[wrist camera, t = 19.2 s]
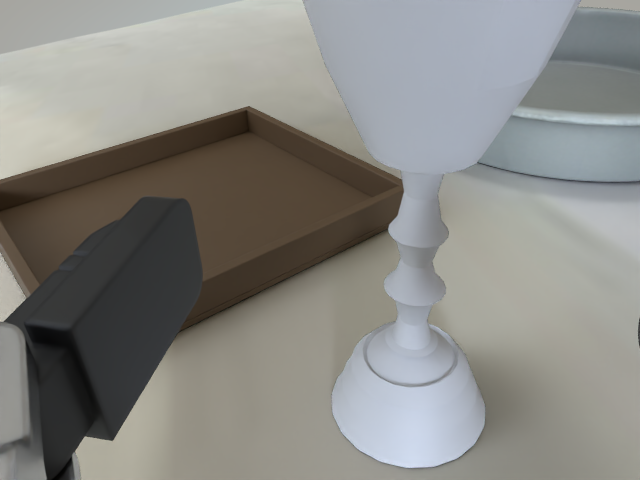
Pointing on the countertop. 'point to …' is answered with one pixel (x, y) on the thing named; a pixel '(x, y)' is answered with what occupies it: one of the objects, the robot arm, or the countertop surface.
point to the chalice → (425, 190)
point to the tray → (206, 202)
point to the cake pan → (580, 106)
